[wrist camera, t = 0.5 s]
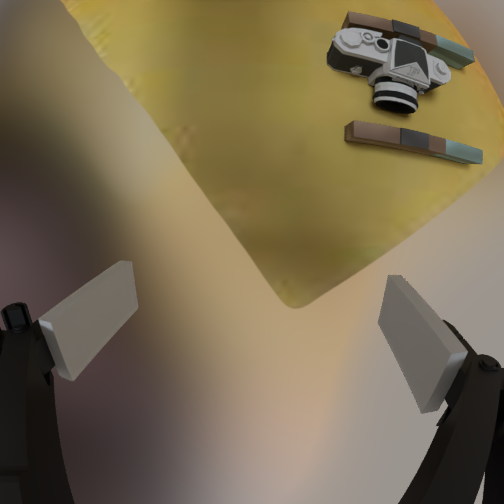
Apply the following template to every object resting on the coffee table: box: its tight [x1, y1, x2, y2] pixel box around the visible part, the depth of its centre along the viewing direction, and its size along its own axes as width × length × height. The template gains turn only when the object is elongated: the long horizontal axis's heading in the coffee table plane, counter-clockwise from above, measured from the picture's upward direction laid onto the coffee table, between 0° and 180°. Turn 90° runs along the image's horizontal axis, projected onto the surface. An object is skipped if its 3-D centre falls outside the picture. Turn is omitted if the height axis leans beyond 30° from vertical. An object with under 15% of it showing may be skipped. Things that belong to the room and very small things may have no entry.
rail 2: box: [345, 121, 483, 164], centre depth 30 cm, size 2×20×5 cm, turn 88°
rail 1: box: [342, 11, 475, 69], centre depth 25 cm, size 2×20×5 cm, turn 88°
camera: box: [327, 28, 451, 114], centre depth 26 cm, size 16×9×10 cm, turn 83°
